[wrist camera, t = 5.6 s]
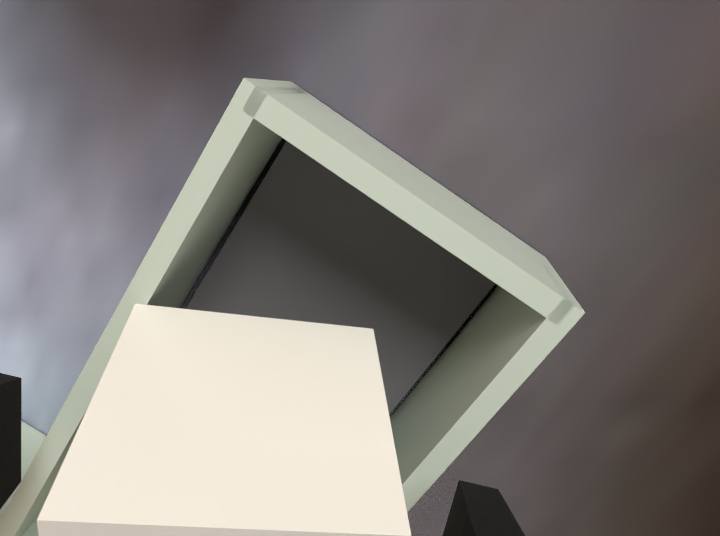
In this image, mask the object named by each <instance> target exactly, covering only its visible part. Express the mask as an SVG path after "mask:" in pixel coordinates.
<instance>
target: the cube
mask: <svg viewBox="0 0 720 536" xmlns="http://www.w3.org/2000/svg"><path fill="white" fill-rule="evenodd" d="M37 526H38V534H39V536H411V532H410V526H409V521H408V515H407V510H406V504H405V499H404V493H403V488H402V482H401V477H400V472H399V466H398V461H397V455H396V450H395V444H394V439H393V433H392V428H391V422H390V417H389V411H388V406H387V401H386V395H385V390H384V384H383V379H382V373H381V368H380V362H379V357H378V351H377V346H376V340H375V335H374V330H373V329H370V328H361V327H351V326H342V325H332V324H323V323H313V322H304V321H295V320H285V319H276V318H266V317H257V316H247V315H238V314H228V313H219V312H209V311H200V310H190V309H181V308H172V307H162V306H153V305H143V304H135V305H134V307H133V310H132V312H131V314H130V316H129V318H128V321H127V323H126V325H125V327H124V329H123V332H122V334H121V336H120V338H119V340H118V343H117V345H116V347H115V349H114V351H113V354H112V356H111V358H110V360H109V362H108V365H107V367H106V369H105V371H104V373H103V376H102V378H101V380H100V382H99V384H98V387H97V389H96V391H95V393H94V395H93V398H92V400H91V402H90V404H89V406H88V409H87V411H86V413H85V415H84V417H83V420H82V422H81V424H80V426H79V428H78V431H77V433H76V435H75V437H74V439H73V442H72V444H71V446H70V448H69V450H68V453H67V455H66V457H65V459H64V461H63V464H62V466H61V468H60V470H59V472H58V475H57V477H56V479H55V481H54V483H53V486H52V488H51V490H50V492H49V494H48V497H47V499H46V501H45V503H44V505H43V508H42V510H41V512H40V514H39V516H38V519H37Z"/></svg>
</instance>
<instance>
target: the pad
mask: <svg viewBox="0 0 720 536" xmlns="http://www.w3.org/2000/svg"><path fill="white" fill-rule="evenodd" d="M495 284H496V283H494V282H493V281H492V280H490V279H489V278H487V277H486V276H484V275H483V274H481V273H480V272H478V271H477V270H475V269H474V268H472V267H471V266H470V265H468V264H467V263H465V262H464V261H462V260H461V259H459V258H458V257H456V256H455V255H453V254H452V253H451V252H449V251H448V250H446V249H445V248H443V247H442V246H440V245H439V244H437V243H436V242H434V241H433V240H431V239H430V238H429V237H427V236H426V235H424V234H423V233H421V232H420V231H418V230H417V229H415V228H414V227H412V226H411V225H409V224H408V223H407V222H405V221H404V220H402V219H401V218H399V217H398V216H396V215H395V214H393V213H392V212H390V211H389V210H387V209H386V208H385V207H383V206H382V205H380V204H379V203H377V202H376V201H374V200H373V199H371V198H370V197H368V196H367V195H366V194H364V193H363V192H361V191H360V190H358V189H357V188H355V187H354V186H352V185H351V184H349V183H348V182H346V181H345V180H344V179H342V178H341V177H339V176H338V175H336V174H335V173H333V172H332V171H330V170H329V169H327V168H326V167H324V166H323V165H322V164H320V163H319V162H317V161H316V160H314V159H313V158H311V157H310V156H308V155H307V154H305V153H304V152H302V151H301V150H300V149H298V148H297V147H295V146H294V145H292V144H291V143H289V142H288V141H286V143H285V144H284V146H283V148H282V149H281V151H280V153H279V154H278V156H277V158H276V159H275V161H274V162H273V164H272V166H271V167H270V169H269V171H268V172H267V174H266V176H265V177H264V179H263V181H262V182H261V184H260V186H259V187H258V189H257V191H256V192H255V194H254V196H253V197H252V199H251V201H250V202H249V204H248V206H247V207H246V209H245V211H244V212H243V214H242V216H241V217H240V219H239V221H238V222H237V224H236V226H235V227H234V229H233V231H232V232H231V234H230V236H229V237H228V239H227V241H226V242H225V244H224V246H223V247H222V249H221V251H220V252H219V254H218V256H217V257H216V259H215V261H214V262H213V264H212V266H211V267H210V269H209V271H208V272H207V274H206V276H205V277H204V279H203V281H202V282H201V284H200V286H199V287H198V289H197V291H196V292H195V294H194V296H193V297H192V299H191V301H190V302H189V304H188V306H187V307H186V309H190V310H200V311H209V312H219V313H228V314H238V315H247V316H257V317H266V318H276V319H285V320H295V321H304V322H313V323H323V324H332V325H342V326H351V327H361V328H370V329H373V330H374V335H375V340H376V346H377V351H378V357H379V362H380V368H381V373H382V379H383V384H384V390H385V395H386V401H387V406H388V411H389V415H390V414H391V412H392V411H393V410H394V409H395V407H396V406H397V405H398V404H399V402H400V401H401V400H402V399H403V397H404V396H405V395H406V394H407V392H408V391H409V390H410V389H411V388H412V386H413V385H414V384H415V383H416V381H417V380H418V379H419V378H420V376H421V375H422V374H423V373H424V371H425V370H426V369H427V368H428V367H429V365H430V364H431V363H432V362H433V360H434V359H435V358H436V357H437V355H438V354H439V353H440V352H441V350H442V349H443V348H444V347H445V346H446V344H447V343H448V342H449V341H450V339H451V338H452V337H453V336H454V334H455V333H456V332H457V331H458V329H459V328H460V327H461V326H462V325H463V323H464V322H465V321H466V320H467V318H468V317H469V316H470V315H471V313H472V312H473V311H474V310H475V308H476V307H477V306H478V305H479V303H480V302H481V301H482V300H483V299H484V297H485V296H486V295H487V294H488V292H489V291H490V290H491V289H492V287H493V286H494V285H495Z"/></svg>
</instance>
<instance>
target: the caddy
mask: <svg viewBox="0 0 720 536" xmlns="http://www.w3.org/2000/svg"><path fill="white" fill-rule="evenodd" d="M282 138H283V139H285V140H286V141H288V142H289V143H291V144H292V145H294V146H295V147H297V148H298V149H300V150H301V151H302V152H304V153H305V154H307V155H308V156H310V157H311V158H313V159H314V160H316V161H317V162H319V163H320V164H322V165H323V166H324V167H326V168H327V169H329V170H330V171H332V172H333V173H335V174H336V175H338V176H339V177H341V178H342V179H344V180H345V181H346V182H348V183H349V184H351V185H352V186H354V187H355V188H357V189H358V190H360V191H361V192H363V193H364V194H366V195H367V196H368V197H370V198H371V199H373V200H374V201H376V202H377V203H379V204H380V205H382V206H383V207H385V208H386V209H387V210H389V211H390V212H392V213H393V214H395V215H396V216H398V217H399V218H401V219H402V220H404V221H405V222H407V223H408V224H409V225H411V226H412V227H414V228H415V229H417V230H418V231H420V232H421V233H423V234H424V235H426V236H427V237H429V238H430V239H431V240H433V241H434V242H436V243H437V244H439V245H440V246H442V247H443V248H445V249H446V250H448V251H449V252H451V253H452V254H453V255H455V256H456V257H458V258H459V259H461V260H462V261H464V262H465V263H467V264H468V265H470V266H471V267H472V268H474V269H475V270H477V271H478V272H480V273H481V274H483V275H484V276H486V277H487V278H489V279H490V280H492V281H493V282H494V283H496V284H497V285H498V286H497V287H496V288H495V290H494V291H493V292H492V293H491V294H490V296H489V297H488V298H487V299H486V301H485V302H484V303H483V304H482V306H481V307H480V308H479V309H478V310H477V312H476V313H475V314H474V315H473V317H472V318H471V319H470V320H469V322H468V323H467V324H466V325H465V326H464V328H463V329H462V330H461V331H460V333H459V334H458V335H457V336H456V338H455V339H454V340H453V341H452V342H451V344H450V345H449V346H448V347H447V349H446V350H445V351H444V352H443V354H442V355H441V356H440V357H439V359H438V360H437V361H436V362H435V363H434V365H433V366H432V367H431V368H430V370H429V371H428V372H427V373H426V375H425V376H424V377H423V378H422V379H421V381H420V382H419V383H418V384H417V386H416V387H415V388H414V389H413V391H412V392H411V393H410V394H409V395H408V397H407V398H406V399H405V400H404V402H403V403H402V404H401V405H400V407H399V408H398V409H397V410H396V411H395V413H394V414H393V415H392V416H391V418H390V422H391V428H392V433H393V439H394V444H395V450H396V455H397V461H398V466H399V472H400V477H401V482H402V488H403V493H404V499H405V504H406V510H407V512H408V511H409V510H410V509H411V508H412V507H413V506H414V504H415V503H416V502H417V501H418V500H419V499H420V498H421V497H422V495H423V494H424V493H425V492H426V491H427V490H428V489H429V488H430V486H431V485H432V484H433V483H434V482H435V481H436V480H437V479H438V477H439V476H440V475H441V474H442V473H443V472H444V471H445V470H446V468H447V467H448V466H449V465H450V464H451V463H452V462H453V461H454V459H455V458H456V457H457V456H458V455H459V454H460V453H461V452H462V451H463V449H464V448H465V447H466V446H467V445H468V444H469V443H470V442H471V440H472V439H473V438H474V437H475V436H476V435H477V434H478V433H479V431H480V430H481V429H482V428H483V427H484V426H485V425H486V424H487V422H488V421H489V420H490V419H491V418H492V417H493V416H494V415H495V413H496V412H497V411H498V410H499V409H500V408H501V407H502V406H503V404H504V403H505V402H506V401H507V400H508V399H509V398H510V397H511V395H512V394H513V393H514V392H515V391H516V390H517V389H518V388H519V386H520V385H521V384H522V383H523V382H524V381H525V380H526V379H527V378H528V376H529V375H530V374H531V373H532V372H533V371H534V370H535V369H536V367H537V366H538V365H539V364H540V363H541V362H542V361H543V360H544V358H545V357H546V356H547V355H548V354H549V353H550V352H551V351H552V349H553V348H554V347H555V346H556V345H557V344H558V343H559V342H560V340H561V339H562V338H563V337H564V336H565V335H566V334H567V333H568V331H569V330H570V329H571V328H572V327H573V326H574V325H575V324H576V322H577V321H578V320H579V319H580V318H581V317H582V316H583V315H584V314H585V312H584V310H583V309H582V308H581V306H580V305H579V303H578V302H577V301H576V299H575V298H574V296H573V295H572V294H571V292H570V291H569V289H568V288H567V287H566V285H565V284H564V282H563V281H562V280H561V278H560V277H559V275H558V274H557V273H556V271H555V270H554V268H553V267H552V266H551V264H550V263H549V261H548V260H547V259H546V257H544V256H543V255H541V254H540V253H538V252H537V251H536V250H534V249H533V248H531V247H530V246H528V245H527V244H525V243H524V242H523V241H521V240H520V239H518V238H517V237H515V236H514V235H512V234H511V233H510V232H508V231H507V230H505V229H504V228H502V227H501V226H499V225H498V224H497V223H495V222H494V221H492V220H491V219H489V218H488V217H486V216H485V215H484V214H482V213H481V212H479V211H478V210H476V209H475V208H473V207H472V206H471V205H469V204H468V203H466V202H465V201H463V200H462V199H460V198H459V197H458V196H456V195H455V194H453V193H452V192H450V191H449V190H447V189H446V188H445V187H443V186H442V185H440V184H439V183H437V182H436V181H434V180H433V179H432V178H430V177H429V176H427V175H426V174H424V173H423V172H421V171H420V170H419V169H417V168H416V167H414V166H413V165H411V164H410V163H408V162H407V161H406V160H404V159H403V158H401V157H400V156H398V155H397V154H395V153H394V152H393V151H391V150H390V149H388V148H387V147H385V146H384V145H382V144H381V143H380V142H378V141H377V140H375V139H374V138H372V137H371V136H369V135H368V134H367V133H365V132H364V131H362V130H361V129H359V128H358V127H356V126H355V125H354V124H352V123H351V122H349V121H348V120H346V119H345V118H343V117H342V116H341V115H339V114H338V113H336V112H335V111H333V110H332V109H330V108H329V107H328V106H326V105H325V104H323V103H322V102H320V101H319V100H317V99H316V98H315V97H313V96H312V95H310V94H309V93H307V92H306V91H304V90H303V89H302V88H300V87H299V86H297V85H296V84H294V83H293V82H291V81H278V80H265V79H252V78H243V80H242V82H241V84H240V85H239V87H238V89H237V91H236V93H235V95H234V96H233V98H232V100H231V102H230V104H229V105H228V107H227V109H226V111H225V113H224V114H223V116H222V118H221V120H220V122H219V124H218V125H217V127H216V129H215V131H214V133H213V134H212V136H211V138H210V140H209V142H208V143H207V145H206V147H205V149H204V151H203V153H202V154H201V156H200V158H199V160H198V162H197V163H196V165H195V167H194V169H193V171H192V172H191V174H190V176H189V178H188V180H187V182H186V183H185V185H184V187H183V189H182V191H181V192H180V194H179V196H178V198H177V200H176V202H175V203H174V205H173V207H172V209H171V211H170V212H169V214H168V216H167V218H166V220H165V221H164V223H163V225H162V227H161V229H160V231H159V232H158V234H157V236H156V238H155V240H154V241H153V243H152V245H151V247H150V249H149V250H148V252H147V254H146V256H145V258H144V260H143V261H142V263H141V265H140V267H139V269H138V270H137V272H136V274H135V276H134V278H133V279H132V281H131V283H130V285H129V287H128V289H127V290H126V292H125V294H124V296H123V298H122V299H121V301H120V303H119V305H118V307H117V308H116V310H115V312H114V314H113V316H112V318H111V319H110V321H109V323H108V325H107V327H106V328H105V330H104V332H103V334H102V336H101V337H100V339H99V341H98V343H97V345H96V347H95V348H94V350H93V352H92V354H91V356H90V357H89V359H88V361H87V363H86V365H85V367H84V368H83V370H82V372H81V374H80V376H79V377H78V379H77V381H76V383H75V385H74V386H73V388H72V390H71V392H70V394H69V396H68V397H67V399H66V401H65V403H64V405H63V406H62V408H61V410H60V412H59V414H58V415H57V417H56V419H55V421H54V423H53V425H52V426H51V428H50V430H49V432H48V434H47V435H46V436H45V435H44V434H42V433H41V432H39V431H37V430H36V429H34V428H32V427H31V426H29V425H27V424H26V423H24V422H23V421H21V483H20V484H19V485H18V487H17V488H16V489H15V491H14V492H13V493H12V495H11V496H10V497H9V499H8V500H7V501H6V503H5V504H4V505H3V507H2V508H1V509H0V536H39V534H38V526H37V519H38V516H39V514H40V512H41V510H42V508H43V505H44V503H45V501H46V499H47V497H48V494H49V492H50V490H51V488H52V486H53V483H54V481H55V479H56V477H57V475H58V472H59V470H60V468H61V466H62V464H63V461H64V459H65V457H66V455H67V453H68V450H69V448H70V446H71V444H72V442H73V439H74V437H75V435H76V433H77V431H78V428H79V426H80V424H81V422H82V420H83V417H84V415H85V413H86V411H87V409H88V406H89V404H90V402H91V400H92V398H93V395H94V393H95V391H96V389H97V387H98V384H99V382H100V380H101V378H102V376H103V373H104V371H105V369H106V367H107V365H108V362H109V360H110V358H111V356H112V354H113V351H114V349H115V347H116V345H117V343H118V340H119V338H120V336H121V334H122V332H123V329H124V327H125V325H126V323H127V321H128V318H129V316H130V314H131V312H132V310H133V307H134V305H135V304H143V305H153V306H162V307H172V308H181V306H182V305H183V303H184V301H185V300H186V298H187V296H188V295H189V293H190V291H191V290H192V288H193V286H194V285H195V283H196V281H197V280H198V278H199V276H200V275H201V273H202V271H203V270H204V268H205V266H206V265H207V263H208V261H209V260H210V258H211V256H212V255H213V253H214V251H215V250H216V248H217V246H218V245H219V243H220V241H221V239H222V238H223V236H224V234H225V233H226V231H227V229H228V228H229V226H230V224H231V223H232V221H233V219H234V218H235V216H236V214H237V213H238V211H239V209H240V208H241V206H242V204H243V203H244V201H245V199H246V198H247V196H248V194H249V193H250V191H251V189H252V188H253V186H254V184H255V183H256V181H257V179H258V178H259V176H260V174H261V173H262V171H263V169H264V167H265V166H266V164H267V162H268V161H269V159H270V157H271V156H272V154H273V152H274V151H275V149H276V147H277V146H278V144H279V142H280V141H281V139H282Z"/></svg>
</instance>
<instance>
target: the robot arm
mask: <svg viewBox="0 0 720 536" xmlns="http://www.w3.org/2000/svg"><path fill="white" fill-rule="evenodd" d="M20 483H21V378H19V377H15V376H10V375H6V374H2V373H0V509H1V508H2V507H3V505H4V504H5V503H6V501H7V500H8V499H9V497H10V496H11V495H12V493H13V492H14V491H15V489H16V488H17V487H18V485H19V484H20ZM443 536H525V535H524V533H523V531H522V530H521V528H520V526H519V524H518V523H517V521H516V519H515V518H514V516H513V514H512V512H511V511H510V509H509V507H508V505H507V504H506V502H505V500H504V499H503V497H502V495H501V494H500V492H499V490H498V489H494V488H490V487H486V486H481V485H477V484H473V483H469V482H464V481H460V480H459V482H458V486H457V489H456V492H455V496H454V499H453V503H452V506H451V509H450V513H449V516H448V519H447V523H446V526H445V530H444V533H443Z"/></svg>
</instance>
